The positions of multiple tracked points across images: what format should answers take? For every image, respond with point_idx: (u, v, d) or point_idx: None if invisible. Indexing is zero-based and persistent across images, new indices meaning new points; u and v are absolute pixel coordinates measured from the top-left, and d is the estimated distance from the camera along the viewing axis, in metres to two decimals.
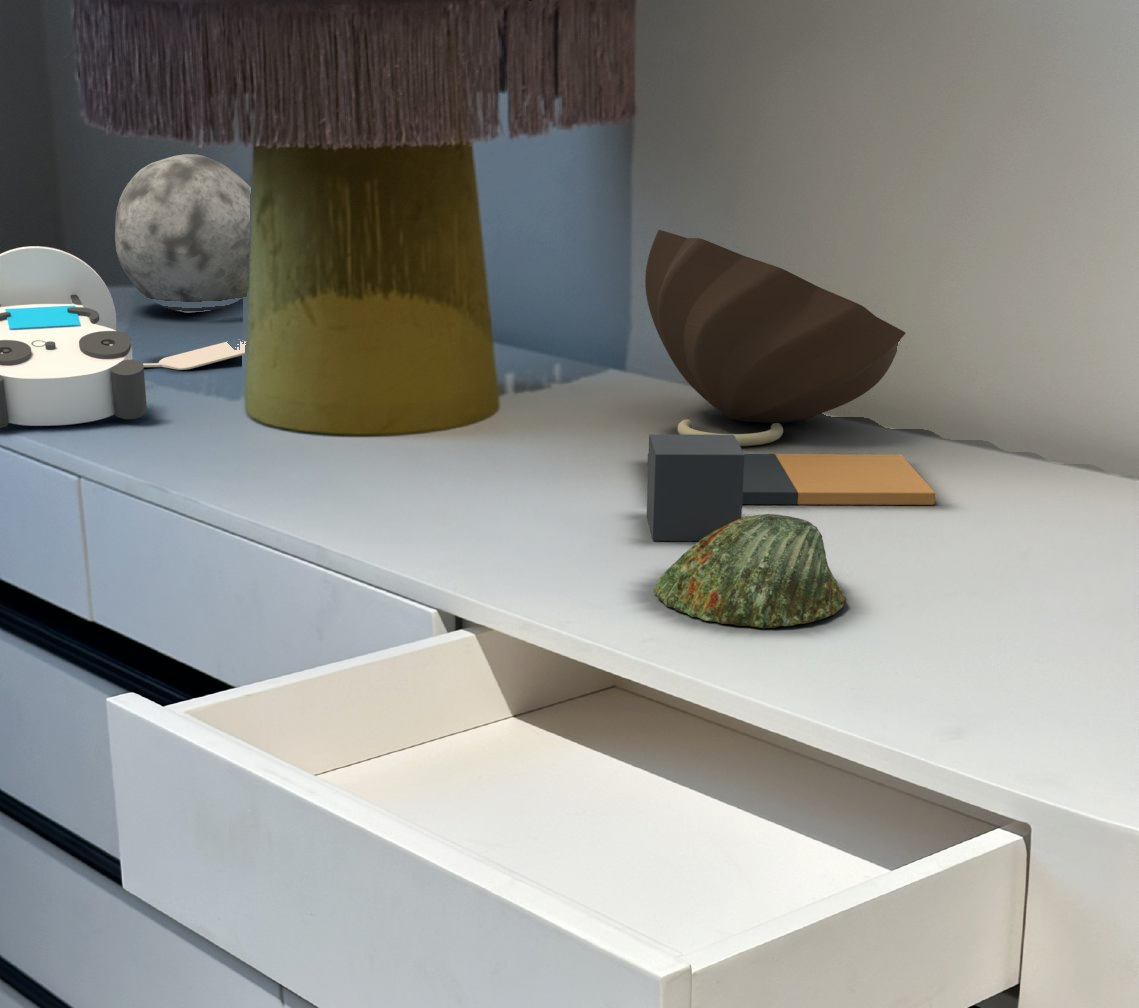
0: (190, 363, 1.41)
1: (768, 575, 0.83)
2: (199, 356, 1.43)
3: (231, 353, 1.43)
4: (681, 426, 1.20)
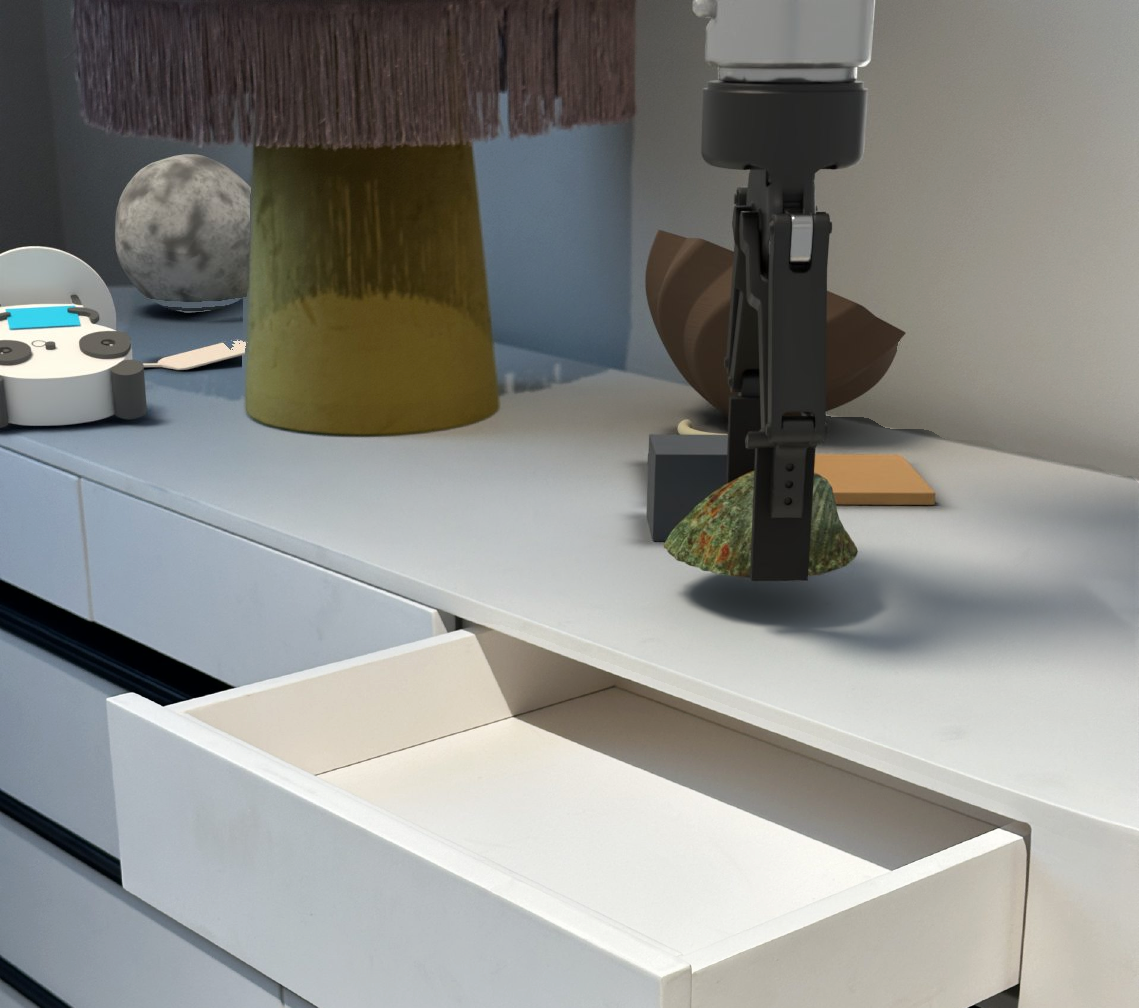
0: (189, 363, 1.41)
1: None
2: (198, 356, 1.43)
3: (230, 353, 1.42)
4: (681, 426, 1.20)
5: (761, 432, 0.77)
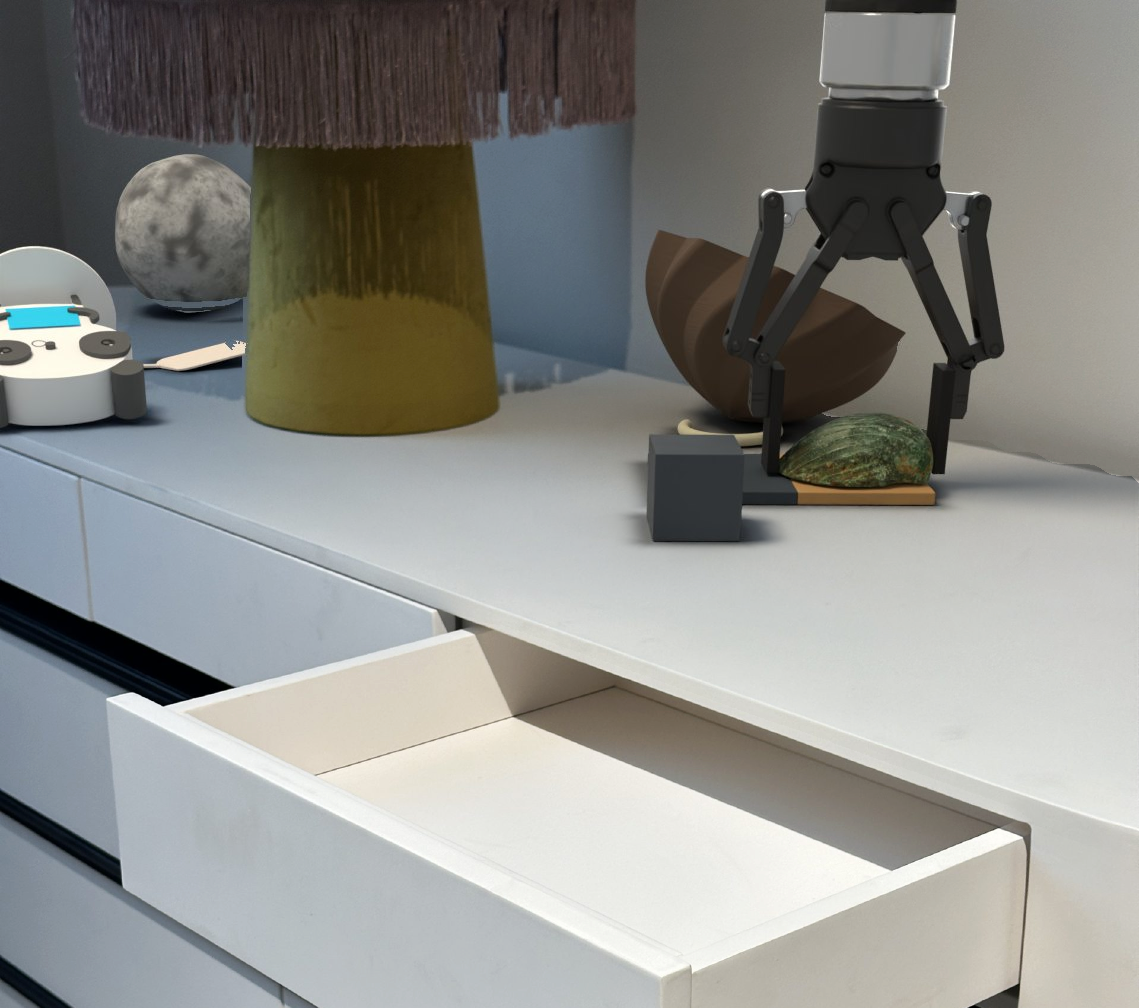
0: (188, 364, 1.41)
1: None
2: (197, 357, 1.43)
3: (229, 354, 1.42)
4: (681, 426, 1.20)
5: None
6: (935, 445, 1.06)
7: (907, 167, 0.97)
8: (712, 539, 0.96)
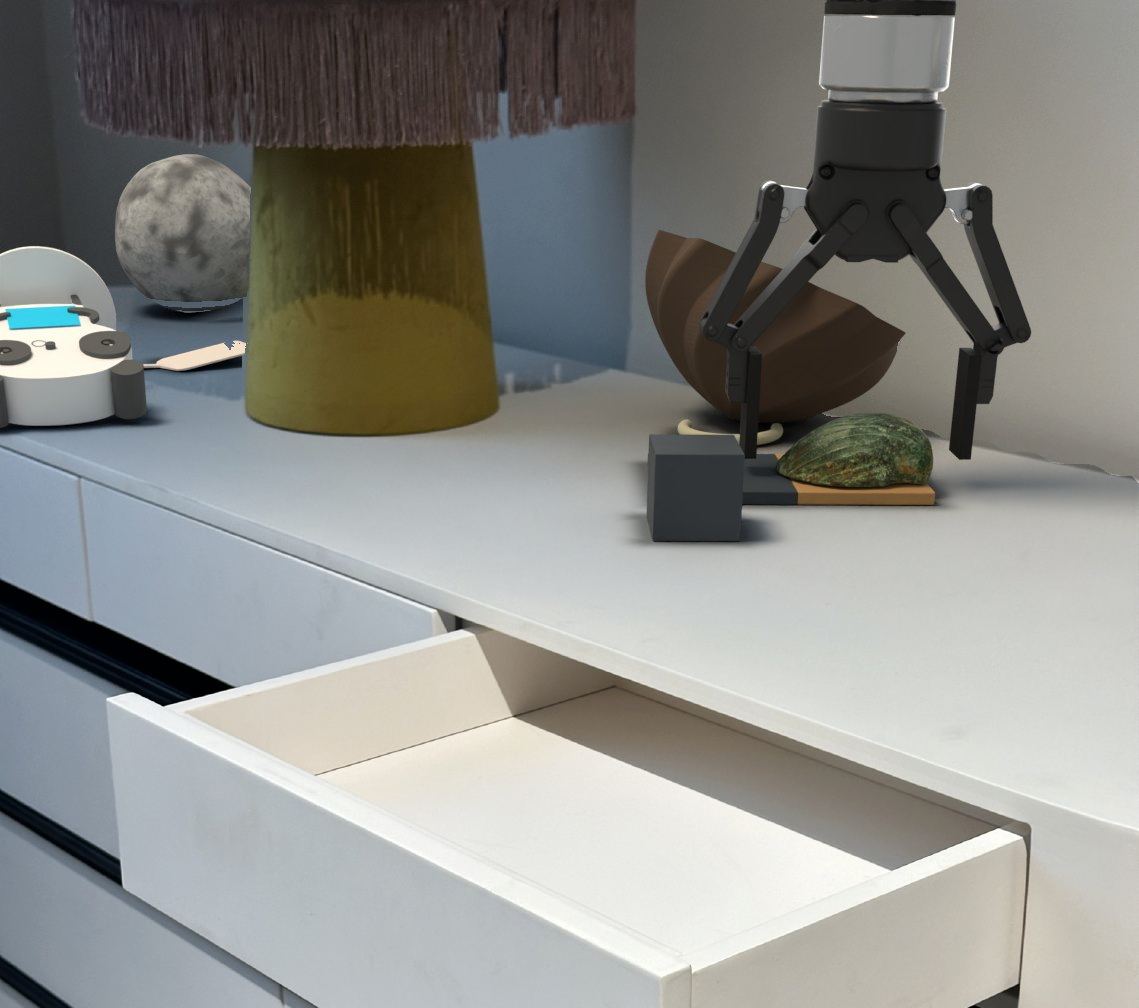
0: (188, 364, 1.41)
1: None
2: (197, 357, 1.43)
3: (229, 354, 1.42)
4: (681, 426, 1.20)
5: None
6: (961, 430, 1.06)
7: (907, 169, 0.97)
8: (712, 539, 0.96)
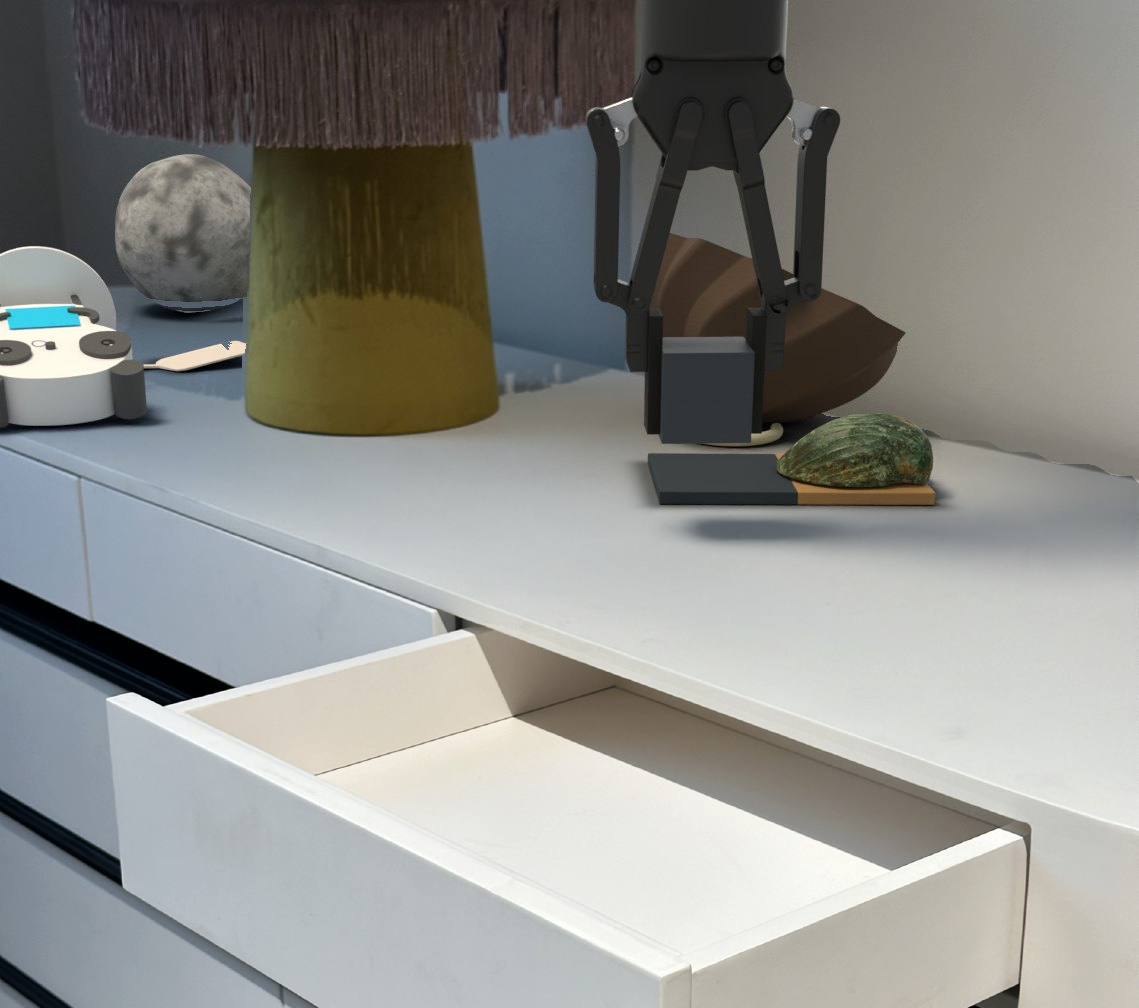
0: (187, 364, 1.41)
1: None
2: (196, 357, 1.43)
3: (228, 354, 1.42)
4: None
5: None
6: None
7: (742, 59, 0.85)
8: (722, 441, 0.94)
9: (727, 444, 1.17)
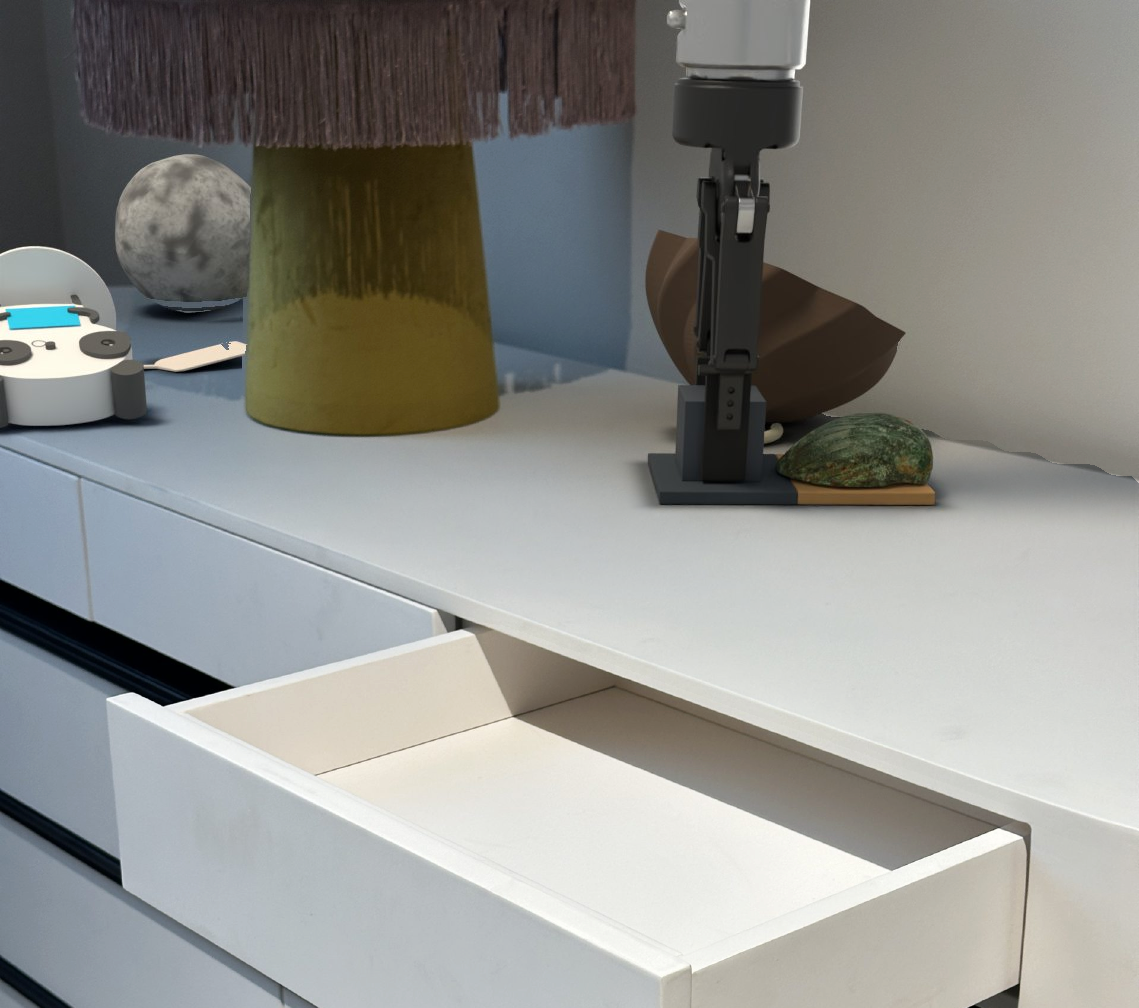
0: (186, 365, 1.40)
1: None
2: (195, 358, 1.42)
3: (227, 355, 1.42)
4: None
5: (709, 365, 1.00)
6: None
7: None
8: None
9: None
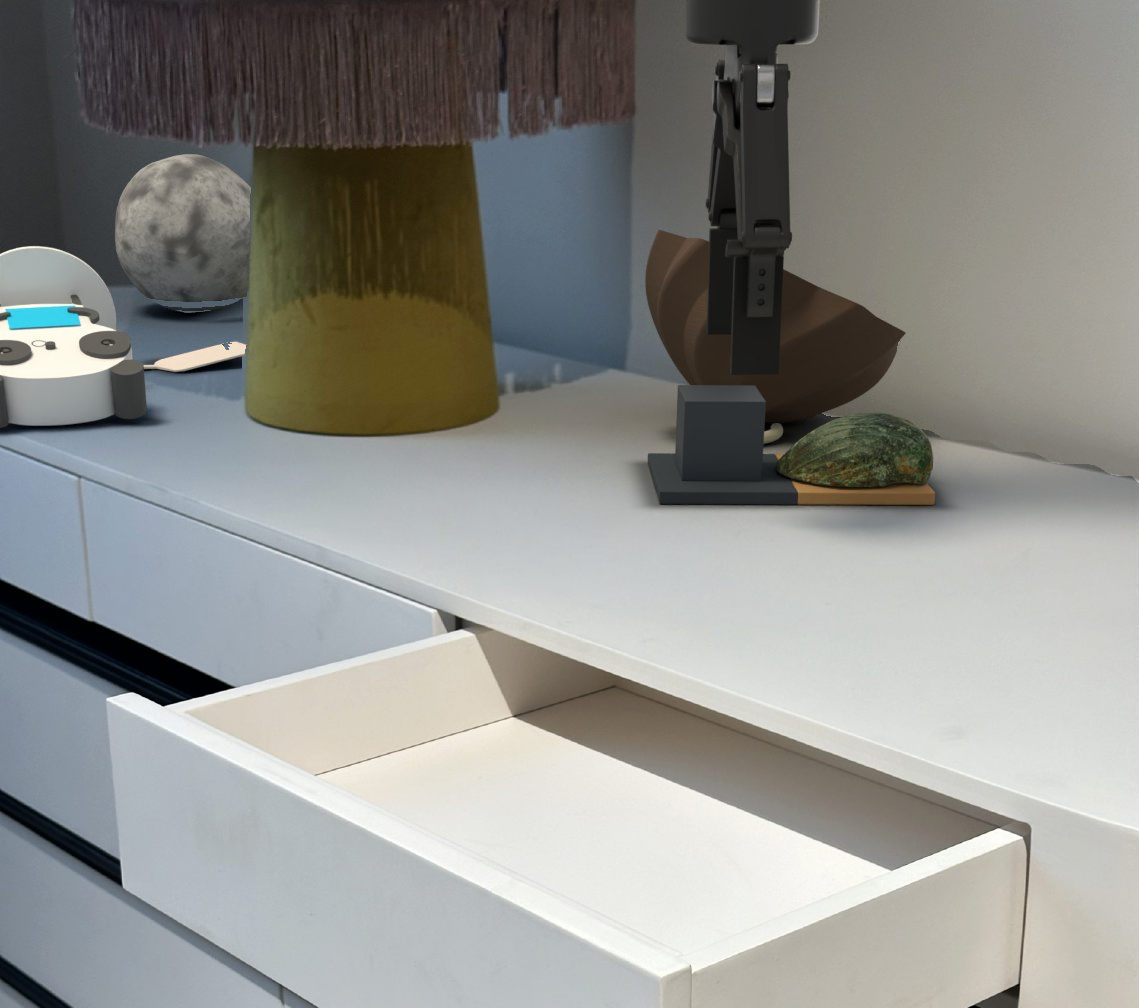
0: (185, 365, 1.40)
1: None
2: (195, 358, 1.42)
3: (227, 355, 1.42)
4: None
5: (738, 240, 0.92)
6: None
7: None
8: None
9: None
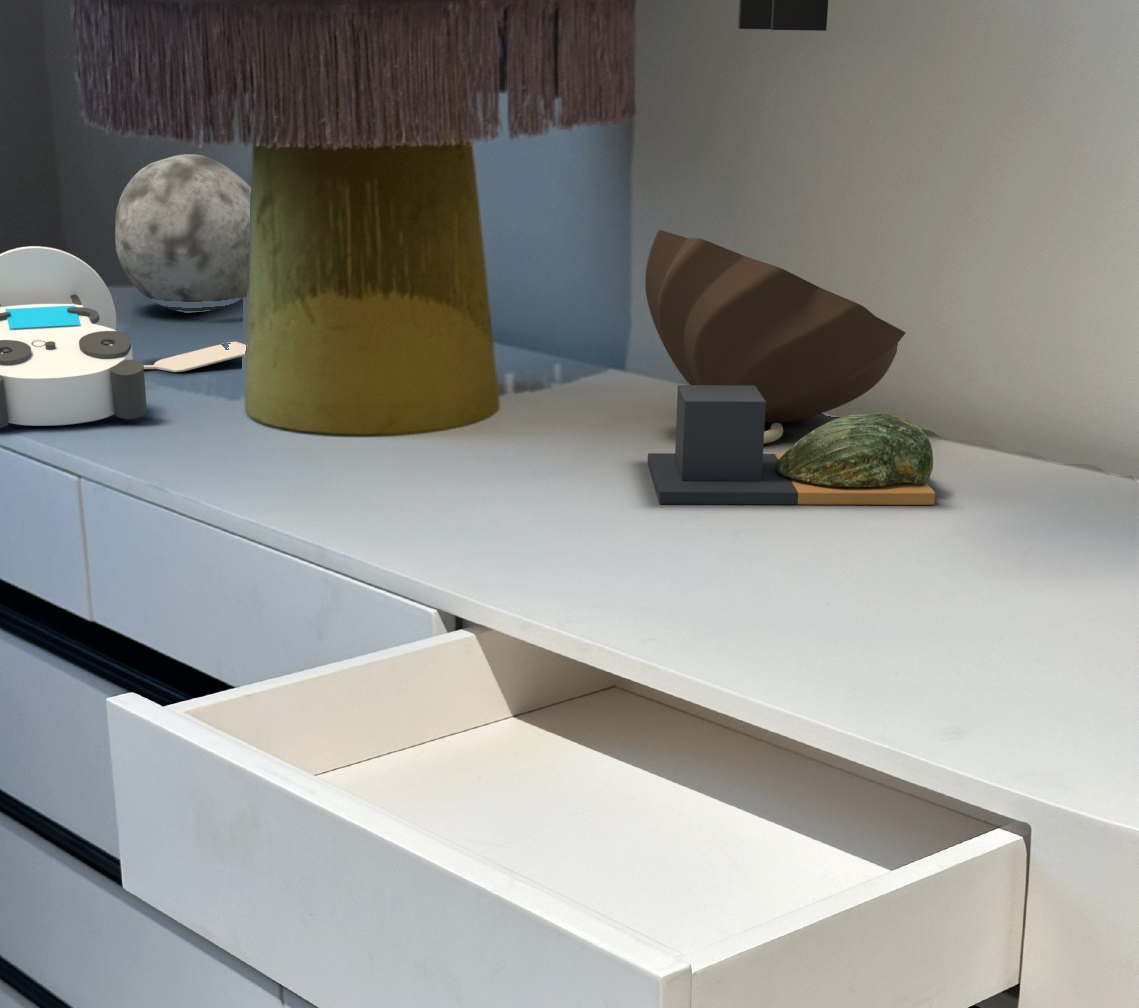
0: (185, 365, 1.40)
1: None
2: (195, 358, 1.42)
3: (227, 355, 1.41)
4: None
5: None
6: None
7: None
8: None
9: None
